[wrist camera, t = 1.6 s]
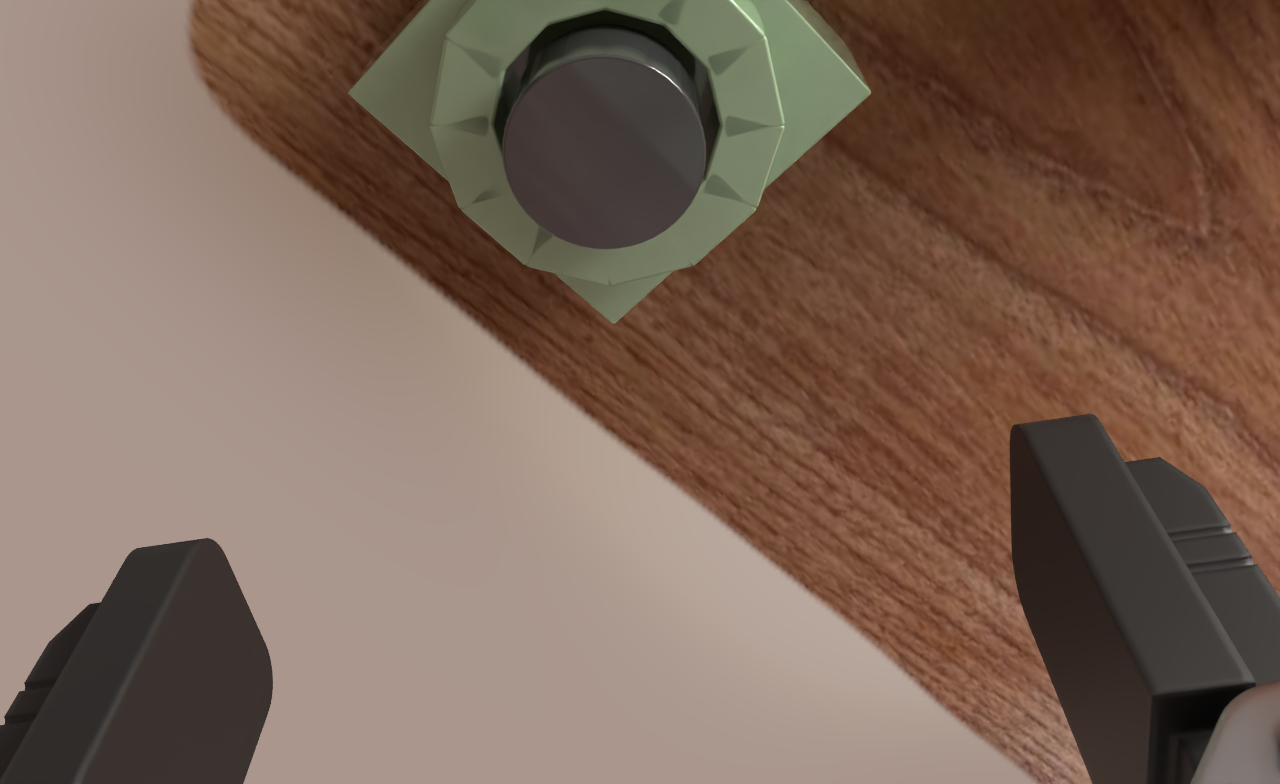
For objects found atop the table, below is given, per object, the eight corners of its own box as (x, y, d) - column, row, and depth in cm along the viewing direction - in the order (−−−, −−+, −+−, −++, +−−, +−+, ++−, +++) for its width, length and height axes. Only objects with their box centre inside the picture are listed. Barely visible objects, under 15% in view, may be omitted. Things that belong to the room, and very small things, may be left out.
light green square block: (379, 46, 27) (324, 126, 23) (610, -216, 25) (601, -186, 20) (616, 259, 30) (610, 371, 25) (847, 45, 27) (889, 126, 23)
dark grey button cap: (473, 119, 23) (460, 156, 21) (604, -19, 22) (601, 9, 20) (609, 242, 24) (606, 287, 23) (740, 118, 23) (749, 156, 21)
